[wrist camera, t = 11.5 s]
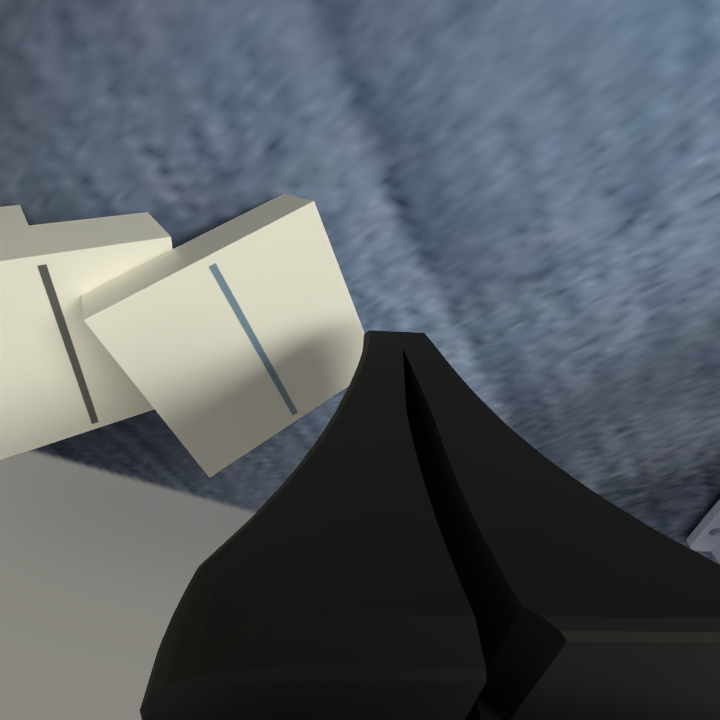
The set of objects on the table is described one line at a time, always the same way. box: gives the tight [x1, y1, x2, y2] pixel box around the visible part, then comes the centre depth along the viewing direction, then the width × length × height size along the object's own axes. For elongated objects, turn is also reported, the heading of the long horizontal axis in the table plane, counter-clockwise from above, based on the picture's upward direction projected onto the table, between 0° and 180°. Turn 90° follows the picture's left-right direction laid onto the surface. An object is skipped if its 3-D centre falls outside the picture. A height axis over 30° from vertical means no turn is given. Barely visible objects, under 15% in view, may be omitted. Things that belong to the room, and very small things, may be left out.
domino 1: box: [0, 212, 173, 460], centre depth 11 cm, size 5×2×5 cm
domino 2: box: [81, 194, 364, 478], centre depth 11 cm, size 5×2×5 cm
